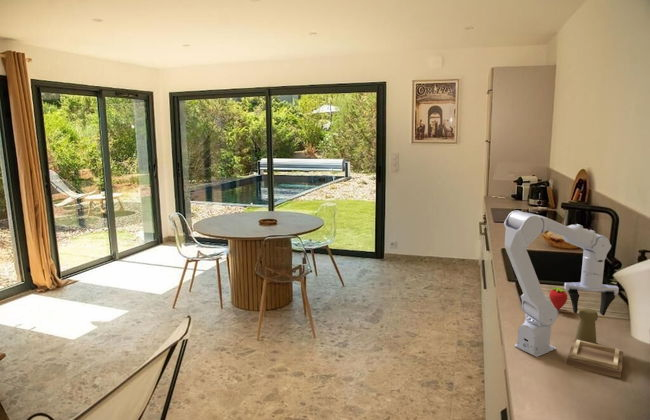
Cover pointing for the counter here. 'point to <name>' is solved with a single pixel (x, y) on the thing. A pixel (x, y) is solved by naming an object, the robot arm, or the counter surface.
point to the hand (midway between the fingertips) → (588, 312)
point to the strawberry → (558, 297)
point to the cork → (587, 326)
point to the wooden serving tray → (595, 358)
